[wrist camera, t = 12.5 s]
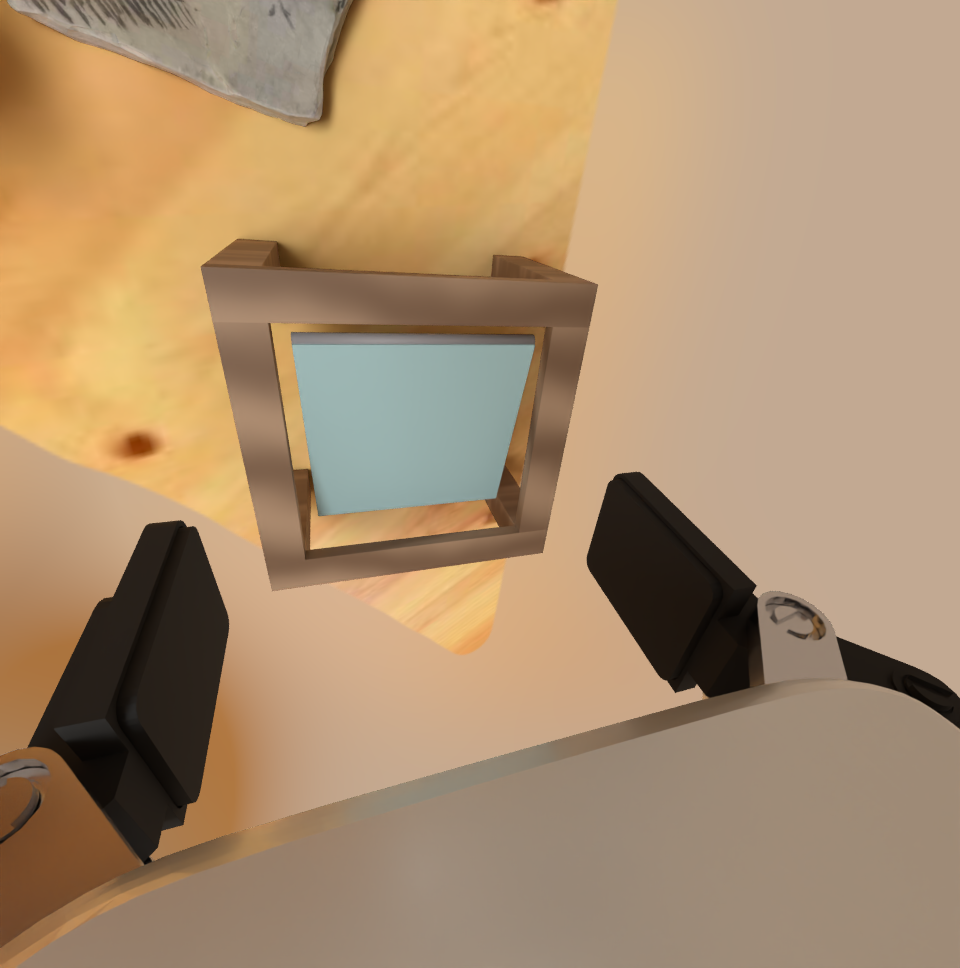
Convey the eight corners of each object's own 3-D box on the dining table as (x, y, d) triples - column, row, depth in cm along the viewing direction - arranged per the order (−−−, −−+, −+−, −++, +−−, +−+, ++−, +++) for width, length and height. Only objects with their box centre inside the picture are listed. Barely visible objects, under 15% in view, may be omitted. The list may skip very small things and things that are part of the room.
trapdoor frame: (237, 239, 31) (200, 266, 21) (522, 256, 37) (598, 284, 27) (282, 494, 42) (272, 591, 32) (495, 476, 48) (542, 552, 38)
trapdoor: (291, 328, 24) (290, 337, 24) (531, 331, 29) (536, 339, 28) (317, 506, 35) (318, 516, 34) (492, 489, 39) (495, 498, 38)
